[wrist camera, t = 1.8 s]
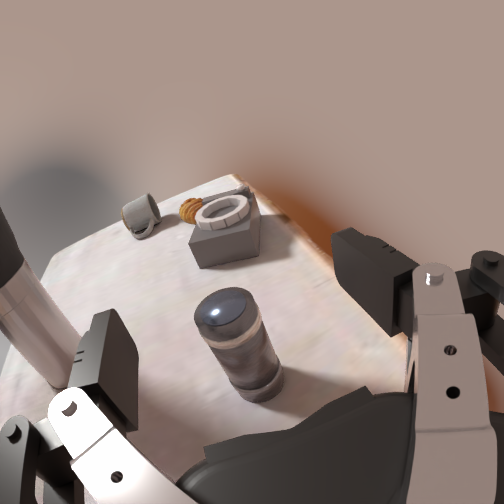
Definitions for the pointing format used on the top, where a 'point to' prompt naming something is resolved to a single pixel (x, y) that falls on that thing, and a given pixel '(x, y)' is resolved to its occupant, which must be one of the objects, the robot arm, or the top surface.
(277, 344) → the top surface
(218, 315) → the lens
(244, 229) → the grey socket block
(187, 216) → the pastry
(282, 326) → the top surface
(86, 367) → the robot arm
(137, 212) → the ceramic mug
